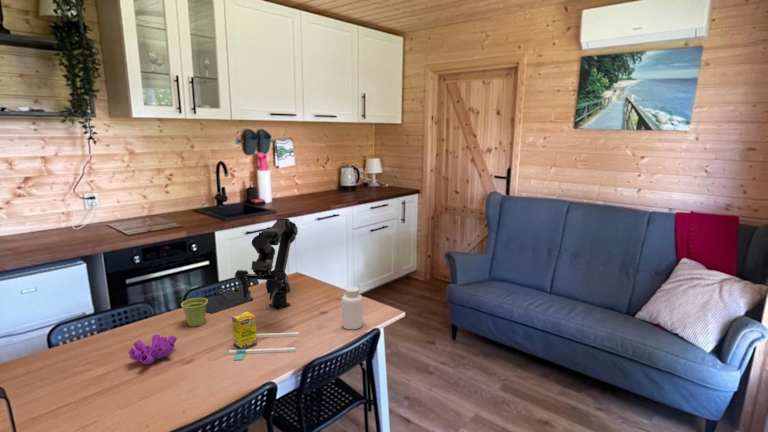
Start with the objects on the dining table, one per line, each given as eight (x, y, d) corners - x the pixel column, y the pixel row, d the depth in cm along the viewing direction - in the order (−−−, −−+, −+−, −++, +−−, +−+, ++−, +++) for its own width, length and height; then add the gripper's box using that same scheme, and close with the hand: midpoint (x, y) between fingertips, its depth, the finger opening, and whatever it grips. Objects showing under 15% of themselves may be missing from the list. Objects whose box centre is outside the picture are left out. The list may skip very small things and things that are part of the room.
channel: (225, 360, 138) (225, 357, 138) (240, 332, 158) (240, 329, 158) (293, 357, 140) (293, 354, 140) (299, 329, 160) (299, 327, 160)
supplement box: (242, 350, 145) (240, 321, 142) (233, 344, 149) (231, 315, 146) (257, 344, 149) (255, 315, 147) (248, 338, 153) (246, 310, 151)
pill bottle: (366, 323, 166) (366, 287, 163) (356, 331, 159) (356, 294, 156) (348, 319, 169) (348, 283, 166) (338, 327, 162) (337, 290, 159)
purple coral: (129, 375, 136) (120, 347, 138) (176, 356, 147) (167, 331, 149) (138, 366, 129) (128, 337, 131) (187, 347, 140) (177, 320, 142)
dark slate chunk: (192, 305, 182) (191, 295, 181) (239, 291, 198) (238, 281, 197) (209, 316, 172) (208, 305, 171) (257, 300, 188) (257, 290, 187)
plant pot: (177, 326, 162) (175, 305, 160) (196, 316, 171) (194, 296, 169) (196, 330, 159) (194, 309, 157) (214, 320, 167) (213, 299, 166)
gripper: (235, 249, 155) (225, 289, 147) (286, 252, 155) (278, 292, 147) (243, 262, 165) (234, 300, 157) (291, 264, 165) (284, 303, 157)
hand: (257, 299), depth 154 cm, fingers open, 9 cm apart
